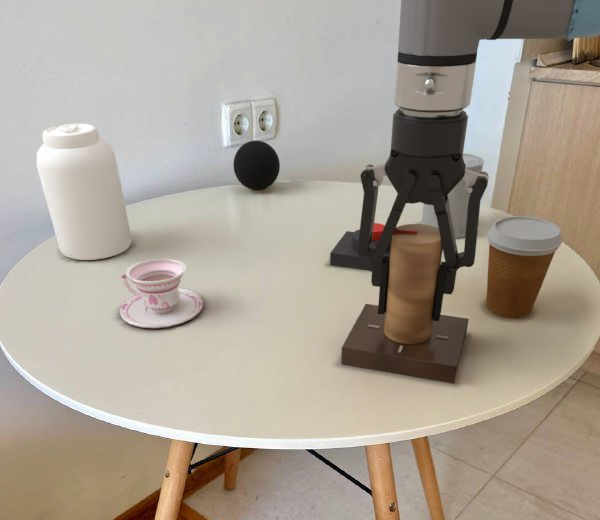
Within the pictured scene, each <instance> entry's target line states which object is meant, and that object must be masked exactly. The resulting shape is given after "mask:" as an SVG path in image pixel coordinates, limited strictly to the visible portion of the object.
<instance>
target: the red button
mask: <svg viewBox="0 0 600 520" xmlns="http://www.w3.org/2000/svg"><path fill="white" fill-rule="evenodd" d="M384 227H385V224H382V223H379V222H378V223H377V222H374V228H373V235H372V240H373V241H376V240H379V239H380V237H381V234H382V232H383V229H384Z"/></svg>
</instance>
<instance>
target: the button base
mask: <svg viewBox="0 0 600 520" xmlns="http://www.w3.org/2000/svg"><path fill="white" fill-rule="evenodd" d="M359 233H360V228H359V229H357V230H355V231H349V230H347V231H345V233H344V234H343V235H342V237H341V238H340V239H339V241H338V242H337V243H336V245H335V246H334V247H333V248H332V249H331V251H330V252H329V265H330V266H334V267H339V268H340V267H341V268H347V269H348V268H349V269H356V270H365V271H372V261H371V259H370V258H368V257H366V256H364V257H361V256H359V255H358V252H357V250H358V241H359ZM378 242H379V240H376V241H373V240H372V244H374V245H377V244H378ZM390 244H391V240H390V243H389V245H388V247H387V250H386V252H385V256H390Z"/></svg>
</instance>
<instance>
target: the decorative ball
mask: <svg viewBox="0 0 600 520" xmlns="http://www.w3.org/2000/svg"><path fill="white" fill-rule="evenodd" d="M232 165H233V171H234V174H235V178H236V179H237V181H238V182H239V183H240V184H241V185H242V186H243V187H245V188H247V189H249V190H251V191H262V190H265V189H267V188H270V187H271V186H272V185H273V184H274V183H275V181H277V179H278V178H279V177H278V176H279V174H280V169H281V163H280V158H279V155H278V154H277V152H276V150H275V149H274V148H273V146H271V145H270V144H268V142H265V141H263V140H251V141H246V142H245V143H244V144H242V145H241V146H240V147H239V148H238V149H237V151H236V153H235V155H234V158H233V164H232Z"/></svg>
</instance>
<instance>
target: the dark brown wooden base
mask: <svg viewBox="0 0 600 520" xmlns="http://www.w3.org/2000/svg"><path fill="white" fill-rule="evenodd" d="M469 319H470V318H467V317H461V316H454V315H453V316H452V315H446V314H440V319H439V321H433V326H432V333H431V337H430V338H429V339H428V340H426V341H424V342H422V343H417V344H403V343H398V342H395V341H393V340H391V339H389V338H388V337H387V336H386V335H385V333H384V322H385V313H384V315H383V314H378V305H376V304H370V303H365V304H364V306H363V308H362V309H361V311H360V313H359V315H358V317H357V319H356V320H355V323H354V324H353V326H352V327H351V330H350V332H349V333H348V335H347V337H346V339H345V340H344V342H343V344H342V346H341V356H340V357H341V358H340V359H341V363H340V365H345V366H351V367H357V368H363V369H368V370H373V371H381V372H385V373H391V374H397V375H401V376H402V375H403V376H408V377H413V378H420V379H426V380H430V381H431V380H432V381H436V382H437V381H438V382H443V383H449V384H455V381H456V377H457V374H458V369H459V366H460V361H461V357H462V353H463V348H464V345H465V340H466V336H467V331H468V325H469Z"/></svg>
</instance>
